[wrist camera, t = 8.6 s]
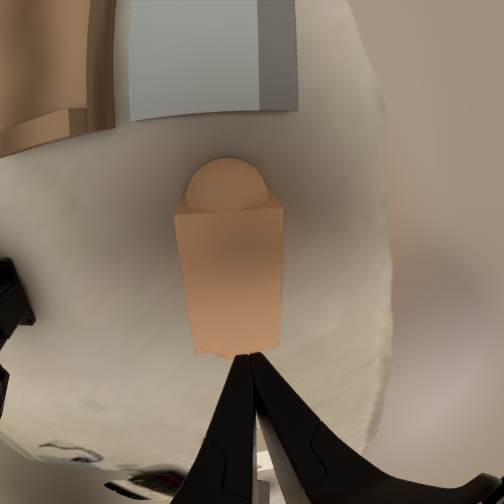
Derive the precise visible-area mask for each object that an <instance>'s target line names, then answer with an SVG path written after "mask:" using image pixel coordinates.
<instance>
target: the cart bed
mask: <svg viewBox="0 0 504 504" xmlns="http://www.w3.org/2000/svg"><path fill="white" fill-rule="evenodd" d="M115 5H116V0H0V159H1V158H4V157H7V156H10V155H13V154H16V153H19V152H22V151H25V150H28V149H31V148H34V147H37V146H41V145H44V144H48V143H51V142H55V141H59V140H62V139H66V138H70V137H74V136H79V135H83V134H87V133H92V132H97V131H101V130H106V129H112V128H115V122H114V105H113V33H114V17H115Z"/></svg>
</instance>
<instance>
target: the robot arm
mask: <svg viewBox="0 0 504 504" xmlns="http://www.w3.org/2000/svg"><path fill="white" fill-rule="evenodd" d="M35 321H36V320H35V318H34V315H33V313H32V311H31V309H30V307H29V304H28V302H27V300H26V297H25V295H24V293H23V290H22V288H21V285H20V283H19V280H18V277H17V275H16V272H15V269H14V266H13V264H12V261H11V260H10V259H8V258H4V259H0V351H1V349H2V347H3V346H4V344H5V342H6V341H7V339H10V337H11V335H12V334H13V332H14V331H15V329H16V328H17V326H18V325H30V326H32V325H34V323H35ZM9 376H10V374H9V373H8V372H7V371H6V369H4V368H3V367H2V366H1V364H0V418H1V416H2V412H3V407H4V401H5V395H6V390H7V385H8V380H9ZM256 414H257V417H258V421H259V424H260V427H261V431H262V434H263V437H264V440H265V443H266V446H267V449H268V452H269V455H270V458H271V461H272V464H273V467H274V470H275V473H276V476H277V479H278V482H279V485H280V488H281V491H282V493H283V496H284V499H285V502H286V504H504V476H503V477H501V478H500V479H499V478H497V477H495V476H492V475H489V474H486V473H481V474H479V475H478V476H476V477H475V478H474V479H472V480H471V481H469V482H468V483H467V484H465V485H463V486H461V487H458V488H451V489H450V488H441V487H435V486H430V485H425V484H420V483H415V482H411V481H407V480H403V479H399V478H396V477H393V476H390V475H388V474H386V473H385V472H383V471H381V470H380V469H378V468H377V467H375V466H374V465H373V464H371V463H370V462H369V461H367V460H366V459H364V458H363V457H362V456H361V455H359V454H358V453H357V452H355V451H354V450H353V449H351V448H350V447H349V446H348V445H347V444H345V443H344V442H343V441H342V440H341V439H339V438H338V437H337V436H336V435H335V434H334V433H333V432H332V431H331V430H330V429H329V428H328V427H327V426H326V425H325V424H324V422H323V421H320V418H319V417H318V416H317V415H316V414H315V413H314V412H313V411H312V410H311V408H310V407H309V406H308V405H307V404H306V403H305V402H304V401H303V400H302V399H301V397H300V396H299V395H298V394H297V393H296V392H295V391H294V390H293V388H292V387H291V386H290V385H289V384H288V383H287V382H286V380H285V379H284V378H283V377H282V376H281V375H280V374H279V372H278V371H277V370H276V369H275V368H274V367H273V365H272V364H271V363H270V362H269V361H268V360H267V358H266V357H265V356H264V355H263V354H262V353H261V352H255V353H250V354H249V356H248V354H239V355H236V356H235V357H234V360H233V363H232V366H231V368H230V371H229V374H228V376H227V379H226V382H225V385H224V387H223V390H222V393H221V395H220V398H219V401H218V403H217V406H216V409H215V411H214V414H213V417H212V419H211V422H210V425H209V427H208V430H207V433H206V435H205V436H206V437H205V438H204V440H203V443H202V445H201V448H200V450H199V452H198V455H197V457H196V459H195V461H194V463H193V465H192V467H191V469H190V471H189V473H188V474H187V476H186V478H185V480H184V481H183V483H182V485H181V486H180V488H179V490H178V491H177V493H176V494H175V496H174V498H173V499H172V501H171V503H170V504H258V489H257V431H256Z"/></svg>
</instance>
